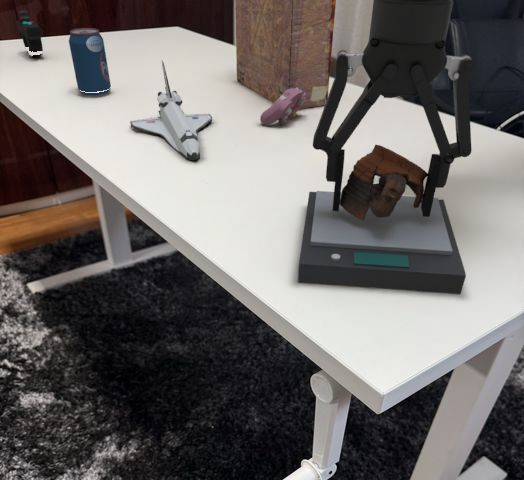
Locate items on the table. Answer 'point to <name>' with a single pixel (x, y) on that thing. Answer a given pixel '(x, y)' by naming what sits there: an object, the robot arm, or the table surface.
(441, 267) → the scale
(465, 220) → the table surface
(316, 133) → the robot arm
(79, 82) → the soda can
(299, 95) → the video game controller
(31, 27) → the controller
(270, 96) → the book
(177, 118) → the space shuttle model
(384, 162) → the brown hollow arched part
